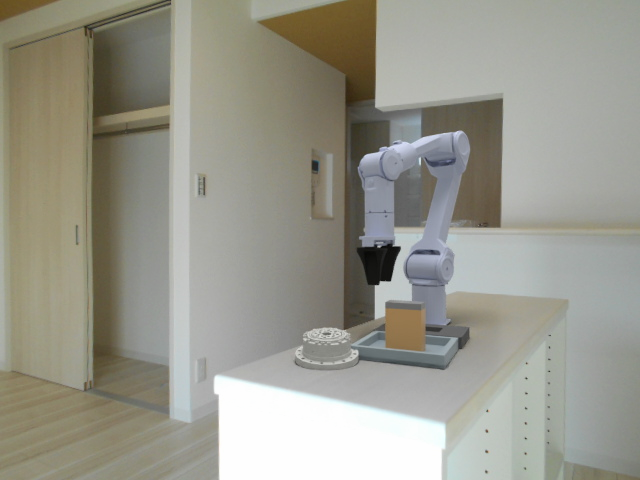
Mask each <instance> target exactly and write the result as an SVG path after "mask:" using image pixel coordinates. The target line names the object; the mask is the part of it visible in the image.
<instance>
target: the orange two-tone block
mask: <svg viewBox="0 0 640 480" xmlns="http://www.w3.org/2000/svg"><path fill="white" fill-rule="evenodd" d="M384 303H385V305H384V309H385V310H384V311H385V312H384V314H385V316H384V317H385V318H384V320H385V322H384V324H385V348H392V349H402V350H411V351H421V352H424V351H425V350H426V328H425V302H420V301H412V300H402V299H401V300H399V299H389V300H387V301H385V302H384Z"/></svg>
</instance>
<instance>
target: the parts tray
mask: <svg viewBox="0 0 640 480" xmlns="http://www.w3.org/2000/svg"><path fill="white" fill-rule="evenodd" d="M351 349H356V350H358V353H359V359H358V360H361V361H362V360H363V361H370V362H379V363H387V364H397V365H405V366H413V367H421V368H432V369H440V370H445V369H446V368H447V366H448V365H449V363H450V362H451V361H452V360H453V358H454V356H455V355H456V354H457V352H458V351H459V349H458V338H456V337H444V336H432V335H426V350H425V351H424V352H421V351H411V350H402V349H392V348H385V331H374V332H373V331H372V332H370V333H369V334H366V335H365V336H363V337H362V338H360V339H358V340H357V341H355V342H353V343H351Z"/></svg>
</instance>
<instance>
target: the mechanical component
mask: <svg viewBox="0 0 640 480" xmlns="http://www.w3.org/2000/svg"><path fill="white" fill-rule="evenodd" d="M351 344H352V343H351V333H348V332H347V330H346V329H343V330H342V329H339V328H338V327H322V328H313V329H312V330H310V331H308V330H307V331H305V332H304V333H303V335H302V345H301V346H300V347H298V348H297V349H296V350H295V352H294V355H295V356H294V357H295V358H294V359H295V362H296V364H297V366H299V365H300V367H301V366H302V368H304V367H305V369H309V368H310V369H309V370H315V369H316V371H337V370H343V369H349V368H352V367H354V366H356V365H357V363H358V362H359V360H360V359H359V353H358V350H356V349H351Z"/></svg>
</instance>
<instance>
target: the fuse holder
mask: <svg viewBox="0 0 640 480" xmlns="http://www.w3.org/2000/svg"><path fill="white" fill-rule="evenodd" d="M425 328H426V335H432V336H444V337H456V338H458V350H459V349H460V350H463V348H464V346H466V343H467V342H468V340H469V338H470V336H471V335H470V326H462V325H461V326H460V325H450V324H449V325H448V324H447V325H436V324H425ZM372 330H373V331H372V332H374V331H385V323H383V324H381V325H380V326H378V327H376V328H375V329H372Z"/></svg>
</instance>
